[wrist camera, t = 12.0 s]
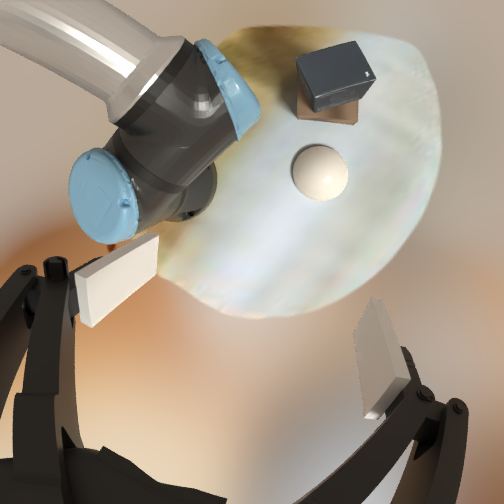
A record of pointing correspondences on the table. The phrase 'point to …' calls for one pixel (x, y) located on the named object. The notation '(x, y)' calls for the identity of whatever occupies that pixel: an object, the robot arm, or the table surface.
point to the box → (334, 75)
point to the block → (326, 111)
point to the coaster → (320, 173)
